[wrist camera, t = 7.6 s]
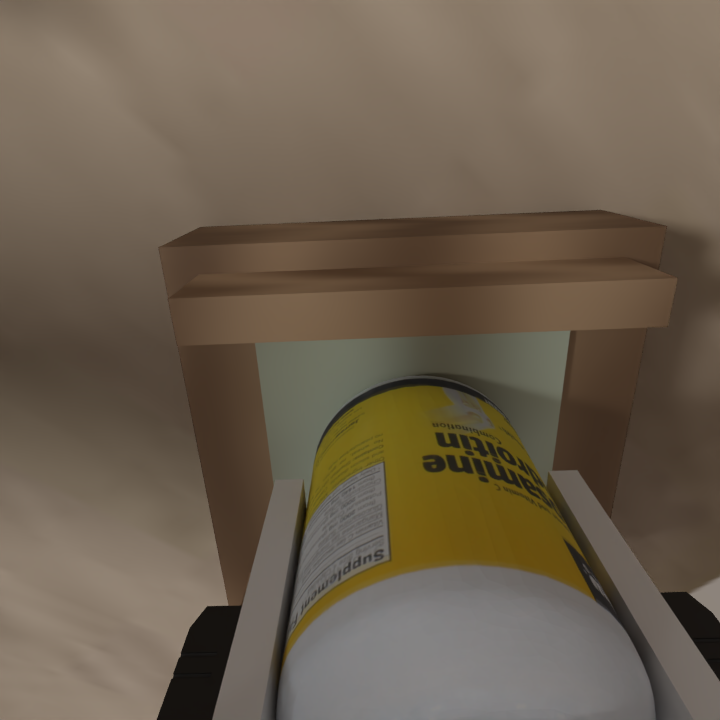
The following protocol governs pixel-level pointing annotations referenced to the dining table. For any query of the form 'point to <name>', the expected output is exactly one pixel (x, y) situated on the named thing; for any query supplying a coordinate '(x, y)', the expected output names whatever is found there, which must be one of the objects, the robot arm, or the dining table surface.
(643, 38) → the dining table surface
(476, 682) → the pill bottle
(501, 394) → the wooden tray
